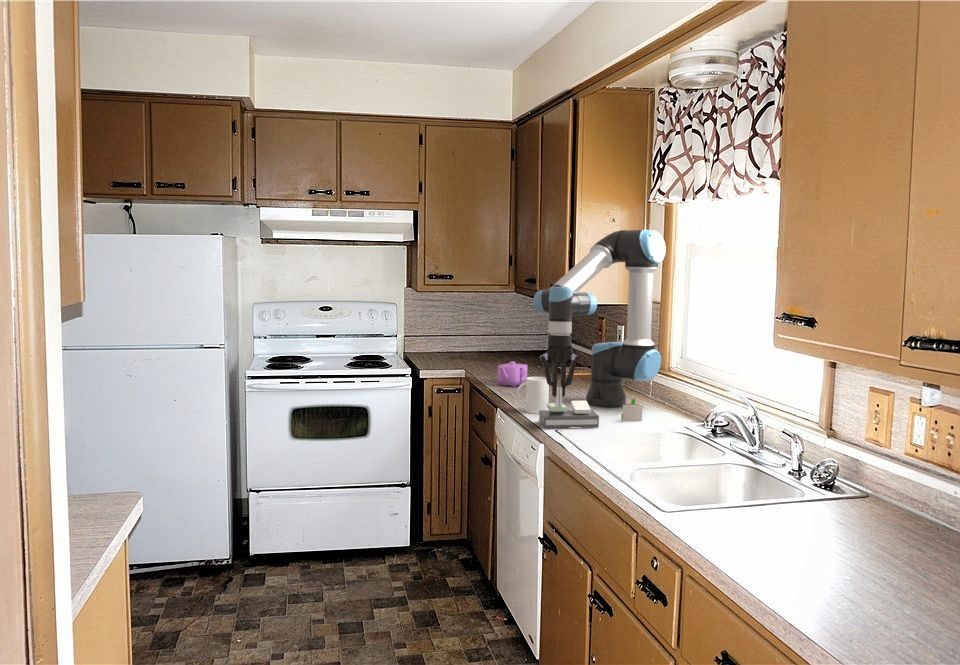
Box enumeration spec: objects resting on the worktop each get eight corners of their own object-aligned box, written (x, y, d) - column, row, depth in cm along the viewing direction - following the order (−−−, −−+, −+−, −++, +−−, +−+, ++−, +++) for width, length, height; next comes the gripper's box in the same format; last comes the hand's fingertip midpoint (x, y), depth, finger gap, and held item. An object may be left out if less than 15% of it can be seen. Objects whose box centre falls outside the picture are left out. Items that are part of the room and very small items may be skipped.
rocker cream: (586, 404, 272) (586, 400, 271) (590, 413, 265) (590, 409, 265) (570, 404, 271) (571, 400, 271) (575, 413, 265) (575, 409, 264)
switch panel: (591, 421, 274) (591, 406, 274) (598, 427, 264) (599, 413, 264) (539, 421, 272) (539, 407, 272) (544, 428, 262) (544, 413, 262)
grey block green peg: (618, 420, 278) (619, 397, 277) (637, 419, 279) (637, 396, 278) (623, 422, 274) (623, 399, 273) (641, 422, 275) (642, 398, 274)
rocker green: (562, 407, 271) (562, 403, 271) (566, 411, 264) (566, 407, 264) (547, 407, 271) (547, 403, 270) (550, 411, 264) (550, 407, 264)
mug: (518, 414, 285) (518, 380, 283) (514, 409, 293) (515, 376, 292) (551, 413, 286) (551, 380, 284) (546, 408, 294) (547, 376, 293)
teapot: (512, 390, 331) (512, 365, 330) (484, 386, 339) (484, 362, 338) (535, 384, 346) (535, 360, 345) (508, 380, 354) (508, 357, 353)
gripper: (577, 333, 266) (575, 404, 268) (537, 333, 265) (536, 404, 266) (582, 335, 259) (580, 408, 260) (541, 335, 257) (540, 408, 259)
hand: (558, 406), depth 263 cm, fingers closed
